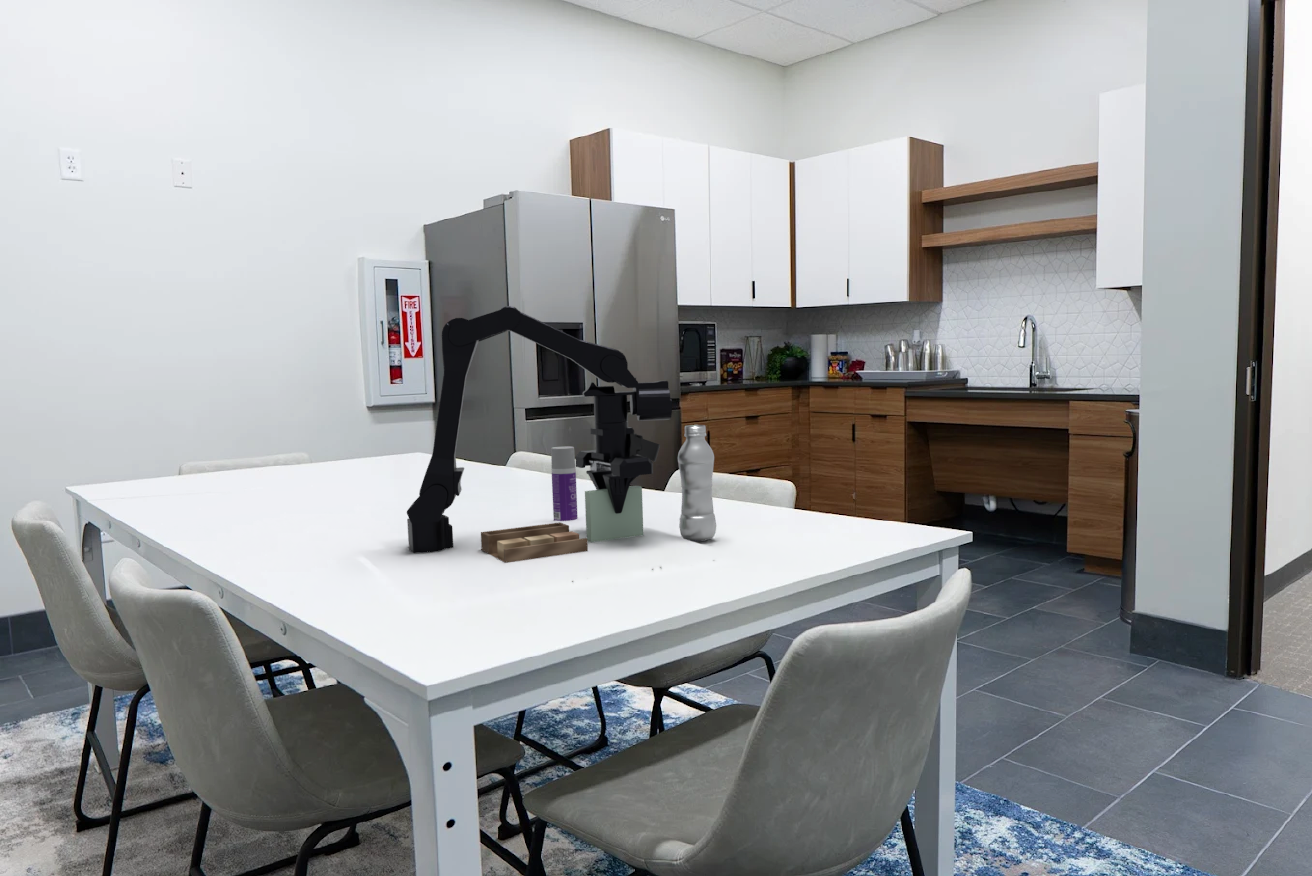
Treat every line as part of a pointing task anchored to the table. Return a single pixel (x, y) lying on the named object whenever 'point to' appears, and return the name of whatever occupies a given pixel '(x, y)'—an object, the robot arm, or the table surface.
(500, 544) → the offcut
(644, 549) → the table surface
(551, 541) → the offcut
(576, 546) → the rack
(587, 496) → the green rectangular block
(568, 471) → the container
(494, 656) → the table surface
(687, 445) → the plastic bottle
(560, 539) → the offcut
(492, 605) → the table surface
